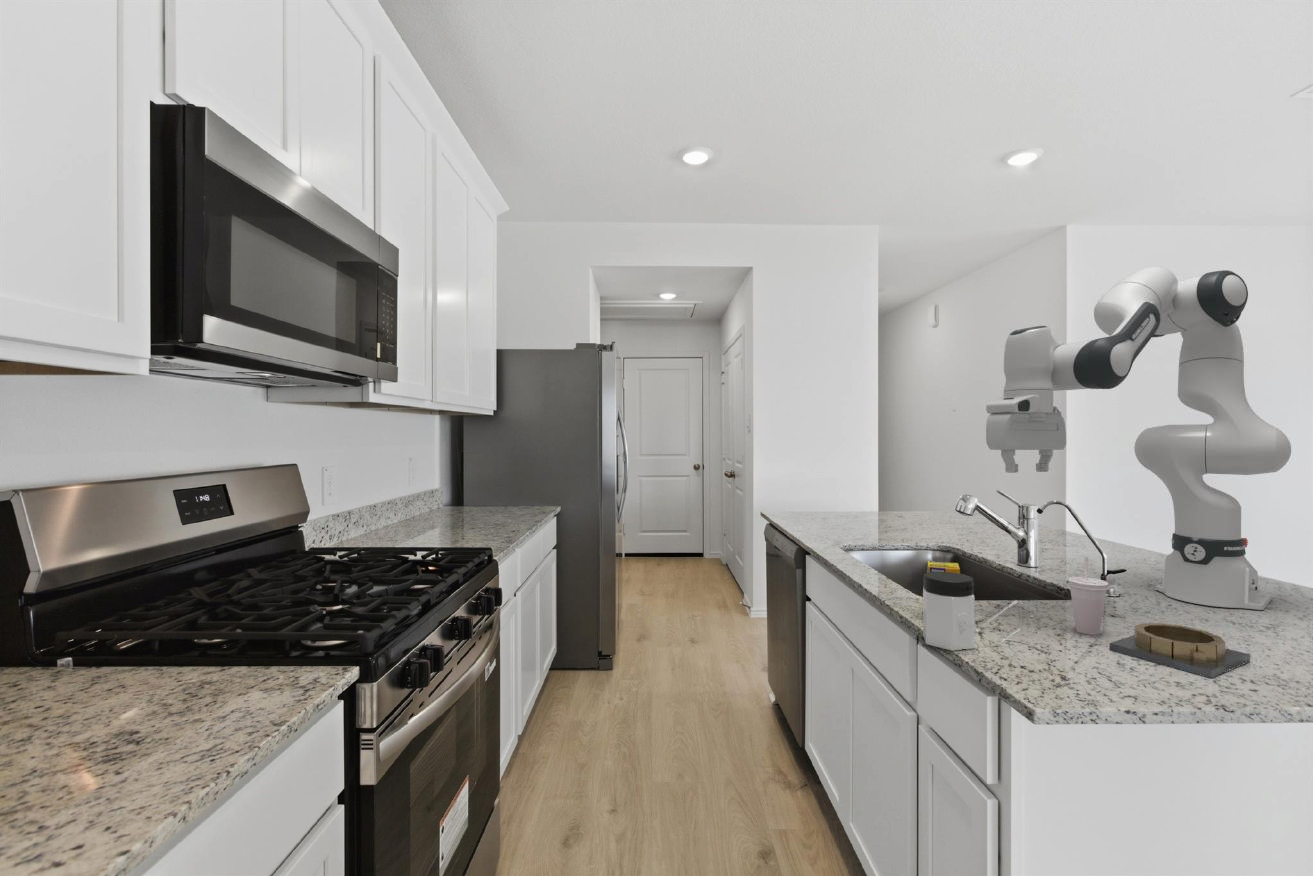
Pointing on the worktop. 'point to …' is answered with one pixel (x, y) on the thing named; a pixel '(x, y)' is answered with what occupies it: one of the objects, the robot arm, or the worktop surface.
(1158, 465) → the robot arm
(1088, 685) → the worktop surface
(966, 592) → the jar
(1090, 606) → the smoothie
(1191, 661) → the socket
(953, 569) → the supplement box
